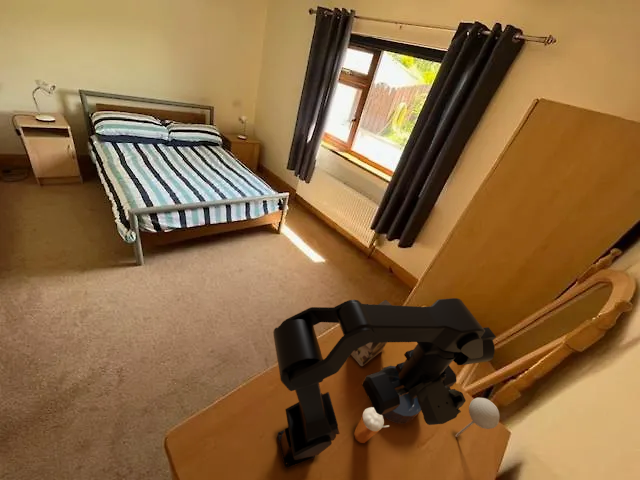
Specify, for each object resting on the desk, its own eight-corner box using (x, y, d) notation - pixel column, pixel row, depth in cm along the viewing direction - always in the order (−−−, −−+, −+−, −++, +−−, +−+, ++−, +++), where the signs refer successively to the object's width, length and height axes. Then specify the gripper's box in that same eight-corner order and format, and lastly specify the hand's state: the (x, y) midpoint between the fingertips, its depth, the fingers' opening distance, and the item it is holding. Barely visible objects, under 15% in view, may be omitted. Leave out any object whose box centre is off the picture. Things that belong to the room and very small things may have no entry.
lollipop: (470, 454, 70) (509, 426, 62) (446, 445, 71) (481, 416, 62) (465, 426, 76) (501, 397, 67) (442, 418, 76) (475, 388, 67)
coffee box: (362, 367, 82) (383, 330, 72) (345, 349, 85) (364, 312, 76) (382, 351, 87) (405, 315, 78) (366, 335, 91) (386, 298, 81)
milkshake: (367, 454, 65) (384, 435, 60) (347, 435, 67) (361, 414, 62) (377, 437, 69) (394, 417, 63) (358, 419, 71) (372, 398, 65)
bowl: (385, 431, 70) (392, 422, 67) (361, 381, 79) (367, 371, 76) (426, 416, 75) (434, 407, 73) (399, 370, 84) (406, 361, 81)
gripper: (417, 425, 43) (378, 464, 52) (498, 388, 52) (452, 427, 61) (376, 356, 51) (348, 401, 60) (453, 333, 60) (418, 376, 69)
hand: (394, 402), depth 62 cm, fingers open, 9 cm apart
